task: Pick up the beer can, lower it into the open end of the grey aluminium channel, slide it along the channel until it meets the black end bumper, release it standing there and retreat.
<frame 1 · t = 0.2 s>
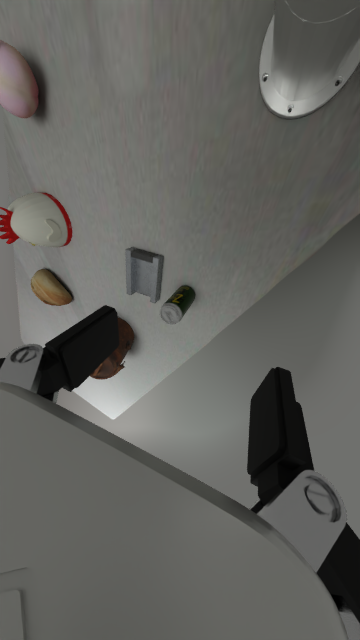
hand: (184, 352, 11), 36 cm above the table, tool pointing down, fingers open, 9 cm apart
kitchen timer: (53, 221, 54), on the table
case: (121, 331, 69), on the table
decorative fruit: (36, 93, 38), on the table
beer can: (186, 293, 50), on the table
channel: (146, 274, 51), on the table
bread roll: (59, 285, 68), on the table
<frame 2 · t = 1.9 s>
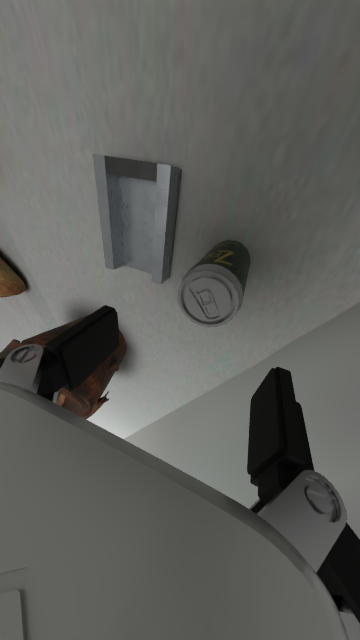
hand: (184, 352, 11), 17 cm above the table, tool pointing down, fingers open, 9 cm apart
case: (105, 338, 43), on the table
beer can: (228, 261, 24), on the table
channel: (143, 224, 25), on the table
bread roll: (5, 265, 42), on the table
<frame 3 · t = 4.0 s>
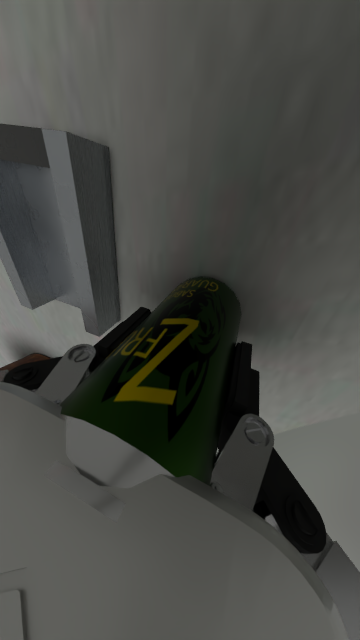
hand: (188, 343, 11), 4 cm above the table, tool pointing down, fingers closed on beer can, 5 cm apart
beer can: (206, 305, 14), on the table, touching gripper
channel: (69, 242, 16), on the table
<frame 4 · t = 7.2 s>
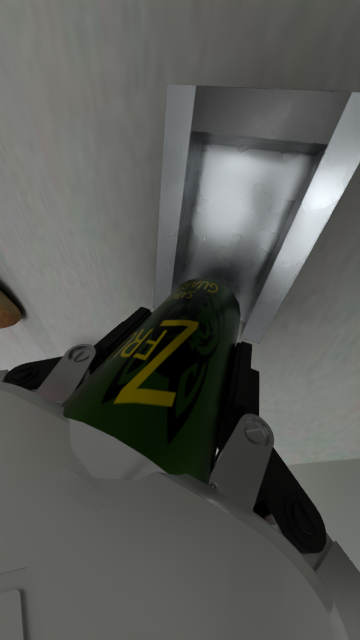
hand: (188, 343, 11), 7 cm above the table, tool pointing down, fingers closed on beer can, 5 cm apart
beer can: (206, 306, 14), point 3 cm above the table, touching gripper
channel: (230, 238, 14), on the table
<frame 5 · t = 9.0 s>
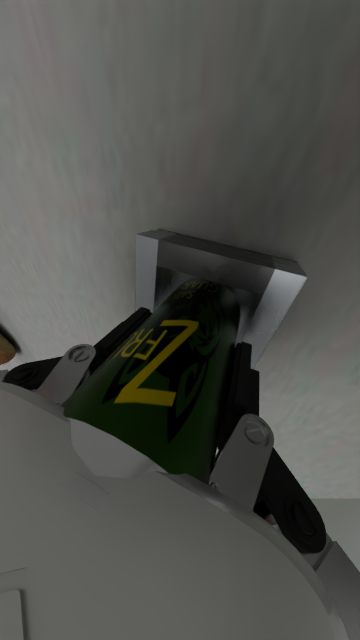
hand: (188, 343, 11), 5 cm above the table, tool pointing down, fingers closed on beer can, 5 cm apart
beer can: (206, 306, 14), point 1 cm above the table, touching gripper
channel: (201, 321, 16), on the table
when the fingers open (5 cm above the table, at t = 10.4 s): beer can stays where it is, resting on channel.
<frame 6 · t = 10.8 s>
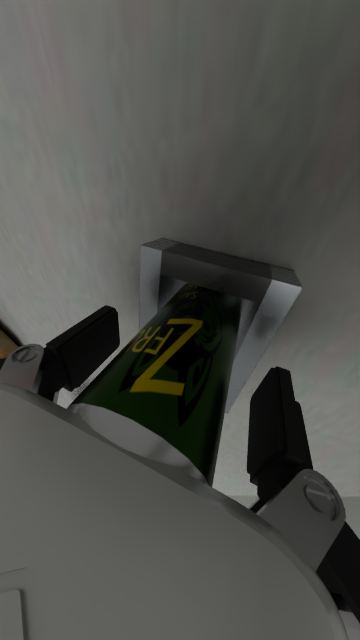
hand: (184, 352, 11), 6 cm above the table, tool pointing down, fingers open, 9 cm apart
beer can: (207, 307, 15), resting on channel
channel: (202, 325, 16), on the table
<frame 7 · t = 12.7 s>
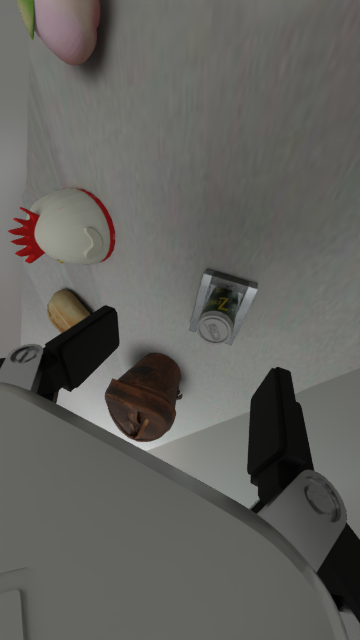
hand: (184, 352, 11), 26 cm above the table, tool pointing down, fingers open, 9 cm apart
kitchen timer: (88, 228, 39), on the table
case: (162, 369, 54), on the table
decorative fruit: (91, 29, 24), on the table
beer can: (224, 297, 35), resting on channel
channel: (221, 305, 37), on the table
bread roll: (83, 310, 52), on the table
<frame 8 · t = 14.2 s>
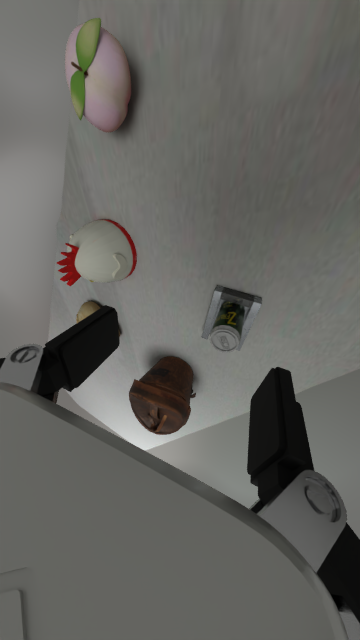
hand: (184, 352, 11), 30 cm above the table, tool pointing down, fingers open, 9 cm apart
kitchen timer: (113, 251, 45), on the table
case: (176, 370, 60), on the table
decorative fruit: (121, 100, 29), on the table
beer can: (232, 308, 41), resting on channel
channel: (229, 316, 42), on the table
bread roll: (105, 318, 59), on the table
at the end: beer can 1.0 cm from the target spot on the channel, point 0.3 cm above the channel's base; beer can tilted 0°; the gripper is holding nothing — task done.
